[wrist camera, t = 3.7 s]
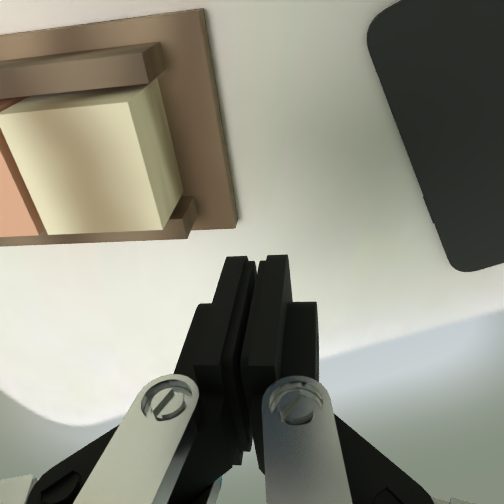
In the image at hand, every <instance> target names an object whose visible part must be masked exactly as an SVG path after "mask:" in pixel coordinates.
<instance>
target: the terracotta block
mask: <svg viewBox="0 0 504 504" xmlns="http://www.w3.org/2000/svg"><path fill="white" fill-rule="evenodd" d="M27 97H29V96H24V97H14V98H5V99H0V112H1V111H3V110H5V109H7V108H9V107H11V106H13V105H14V104H16V103H18V102H20V101H22V100H24V99H26V98H27ZM44 230H45V227H44V224H43V222H42V220H41V218H40V216H39V213H38V211H37V209H36V207H35V204H34V202H33V200H32V198H31V195H30V193H29V191H28V189H27V186H26V184H25V182H24V180H23V177H22V175H21V173H20V171H19V168H18V166H17V164H16V162H15V159H14V157H13V155H12V153H11V150H10V148H9V146H8V144H7V142H6V139H5V137H4V135H3V133H2V130H1V128H0V237H12V236H35V235H40V234H41V233H42V232H43V231H44Z"/></svg>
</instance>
